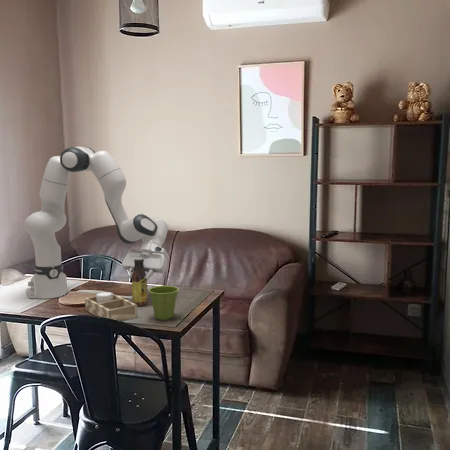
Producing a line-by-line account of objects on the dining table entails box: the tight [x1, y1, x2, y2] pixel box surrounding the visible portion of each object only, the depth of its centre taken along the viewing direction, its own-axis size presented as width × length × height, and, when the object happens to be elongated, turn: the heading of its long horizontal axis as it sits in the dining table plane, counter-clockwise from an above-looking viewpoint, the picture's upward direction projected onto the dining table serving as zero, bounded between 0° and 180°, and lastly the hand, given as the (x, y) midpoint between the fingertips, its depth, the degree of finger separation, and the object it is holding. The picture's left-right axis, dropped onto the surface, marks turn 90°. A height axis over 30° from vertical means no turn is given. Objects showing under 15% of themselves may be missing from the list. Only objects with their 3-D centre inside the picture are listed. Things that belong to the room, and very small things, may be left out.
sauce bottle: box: [131, 258, 148, 307], centre depth 213 cm, size 6×6×20 cm
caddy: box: [84, 293, 138, 322], centre depth 202 cm, size 22×12×5 cm, turn 39°
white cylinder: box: [95, 291, 114, 303], centre depth 206 cm, size 7×7×7 cm
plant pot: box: [147, 285, 180, 321], centre depth 197 cm, size 12×12×11 cm
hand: (138, 278), depth 212 cm, fingers closed on sauce bottle, 6 cm apart
